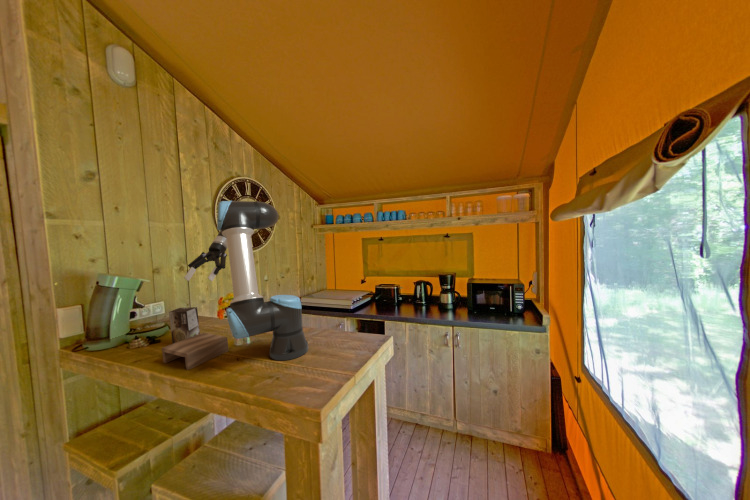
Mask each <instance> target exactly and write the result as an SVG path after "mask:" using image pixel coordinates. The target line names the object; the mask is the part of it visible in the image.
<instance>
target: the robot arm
mask: <svg viewBox="0 0 750 500" xmlns="http://www.w3.org/2000/svg"><path fill="white" fill-rule="evenodd" d="M278 221H279V212H278V210H277V209H276V208H275V207H274V206H273V205H271V204H269V203H267V202H263V201H259V200H258V201H252V200H251V201H245V200H221V201H220V202H218V206H217V222H216V223H217V224H216V225H217V226H216V229H217V231H219V232H218V234H217V235H216V237H214V240H212V243H211V244H210V245H209V247H208V251H207V252H206V253H205V252H204V251H202V252H201V254H200V255H198V256H197V257H196V258H195V259H193V260H192V261H191V262H190V263H189V264H188V265H187V267H188V268H189V269H188V271H187V272H186V274H185V276H184V277H183V278H184V279H185V281H187V282H190V280H191V279H192V277H193V276H194V275H195V273H196V271H197V270H196V269H198V268H200V267H201V266H202V265H204V264H206V263H209V262H214V263H215V266H214V267H213V269H212V270H211V272H210V273H209V275H208V277H207V279H208V280H209V281H210V282H213V281H214V279H215V278H216V276H217V275H218V274H219V272H220V271H221V270H222V269H223V270H225V269H226V263H227V262H226V261H227V260H226V259H227V256H228V259H229V267H230V274H231V275H230V276H231V282H232V285H231V286H232V293H233V299H232V300H231V301H230V302H229V306H230V307H228V308H226V310H225V312H226V317H227V322H228V326H229V329H230V332H231V334H232V337H233V338H234V339H236V340H238V339H245V338H250V337H253V336H257V335H262V334H266V333H270V332H272V338H271V342H270V347H269V350H268V352H269V357H270V358H271V360H275V361H287V360H288V361H289V360H293V359H294V360H295V359H296V358H300V357H301V356H303V355H305V354H306V353H307V352H308V351H309V342H308V340H307V339H306V338H307V337H306V336H305V333H304V331H303V330H304V327H303V315H302V314H303V313H302V312H303V311H302V307H303V306H302V302H301V298H300V297H299V296H296V295H292V294H291V295H290V294H276V295H273V296H271V297H270V298H269V301H267V300H266V301H265V299H264V296H263V295H261V294H259V288H258V279H257V278H258V277H257V273H256V266H255V257H254V251H253V243H252V236H253V234H255V230H262V229H268V228H271V227H273V226H275V225H277V223H278ZM227 250H228V251H227ZM226 252H228V254H227V253H226Z"/></svg>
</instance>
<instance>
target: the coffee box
mask: <svg viewBox="0 0 750 500" xmlns="http://www.w3.org/2000/svg"><path fill="white" fill-rule="evenodd" d="M168 316H169V324H170V332H171V333H170V334H171V341H172V344H174V343H176V342H179V341H182V340H184V339H187V338H190V337H193V336H195V335H198V334H201V330H200V323H199V322H200V321H199V313H198V307H197V306H196V307H194V306H192V307H178V308H176V309H173V310H171V311H168Z"/></svg>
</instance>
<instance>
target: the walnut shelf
mask: <svg viewBox="0 0 750 500" xmlns="http://www.w3.org/2000/svg"><path fill="white" fill-rule="evenodd" d="M228 339H229V338H228V336H223V335H218V334H212V333H206V332H200V334H198V335H195V336H193V337H190V338H187V339H184V340H182V341H179V342H176V343H174V344H173V343H172V344H168V345H166V346H163V347H161V352H162V353H161V354H162V360H163V361H162V362H163V363H164V364H167V363H169V362H172V361H174V360H176V359H179V358H184V361H185V369H186V370H188V371H189V370H191V369H194V368H196V367H197V366H199V365H202V364H204V363H205V362H208V361H211V360H212V359H214V358H216V357H218V356H220V355H223V354H224V353H227V352H229V341H228Z"/></svg>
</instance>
